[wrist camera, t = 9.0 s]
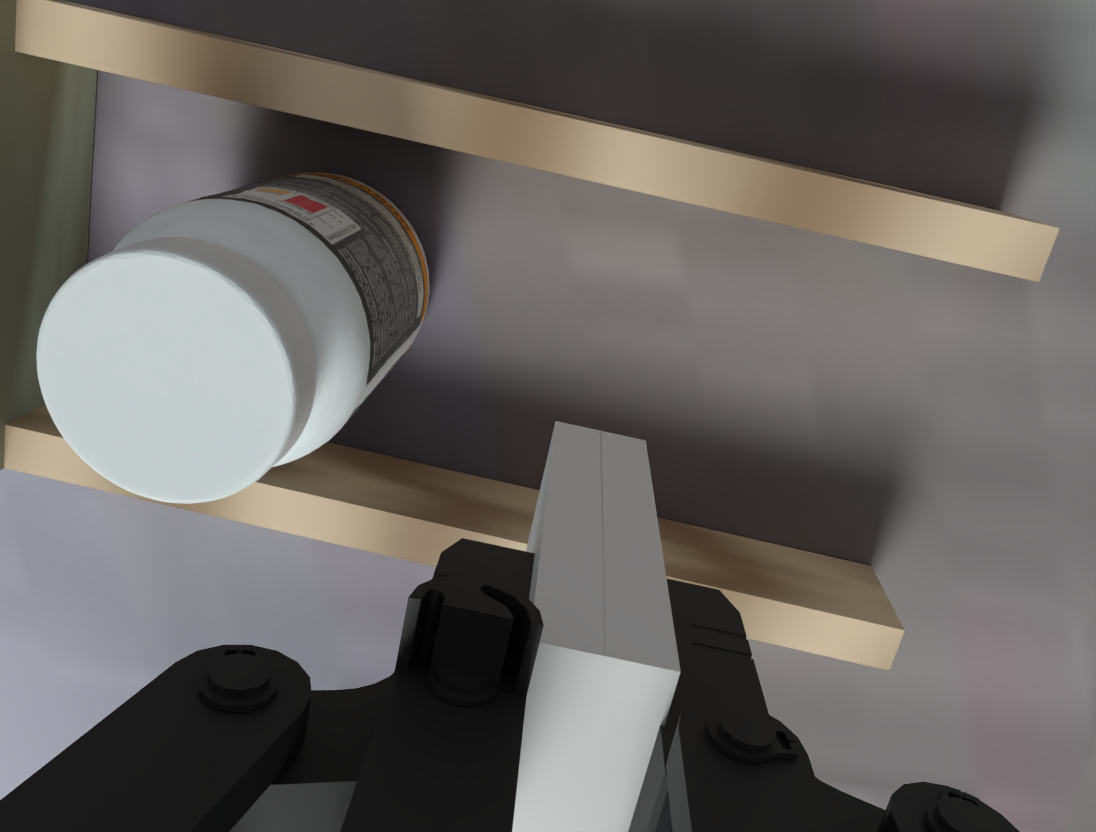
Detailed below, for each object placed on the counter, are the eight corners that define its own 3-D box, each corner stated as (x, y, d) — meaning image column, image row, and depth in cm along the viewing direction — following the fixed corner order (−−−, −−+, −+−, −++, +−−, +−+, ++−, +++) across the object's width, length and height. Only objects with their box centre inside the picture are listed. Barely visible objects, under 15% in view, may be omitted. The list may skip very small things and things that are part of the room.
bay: (38, 414, 28) (-83, 479, 23) (54, -2, 24) (-87, -28, 19) (857, 602, 28) (905, 705, 23) (999, 210, 24) (1091, 237, 19)
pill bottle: (251, 140, 25) (23, 164, 15) (460, 211, 25) (360, 277, 16) (209, 342, 27) (-18, 472, 17) (405, 406, 27) (284, 570, 17)
